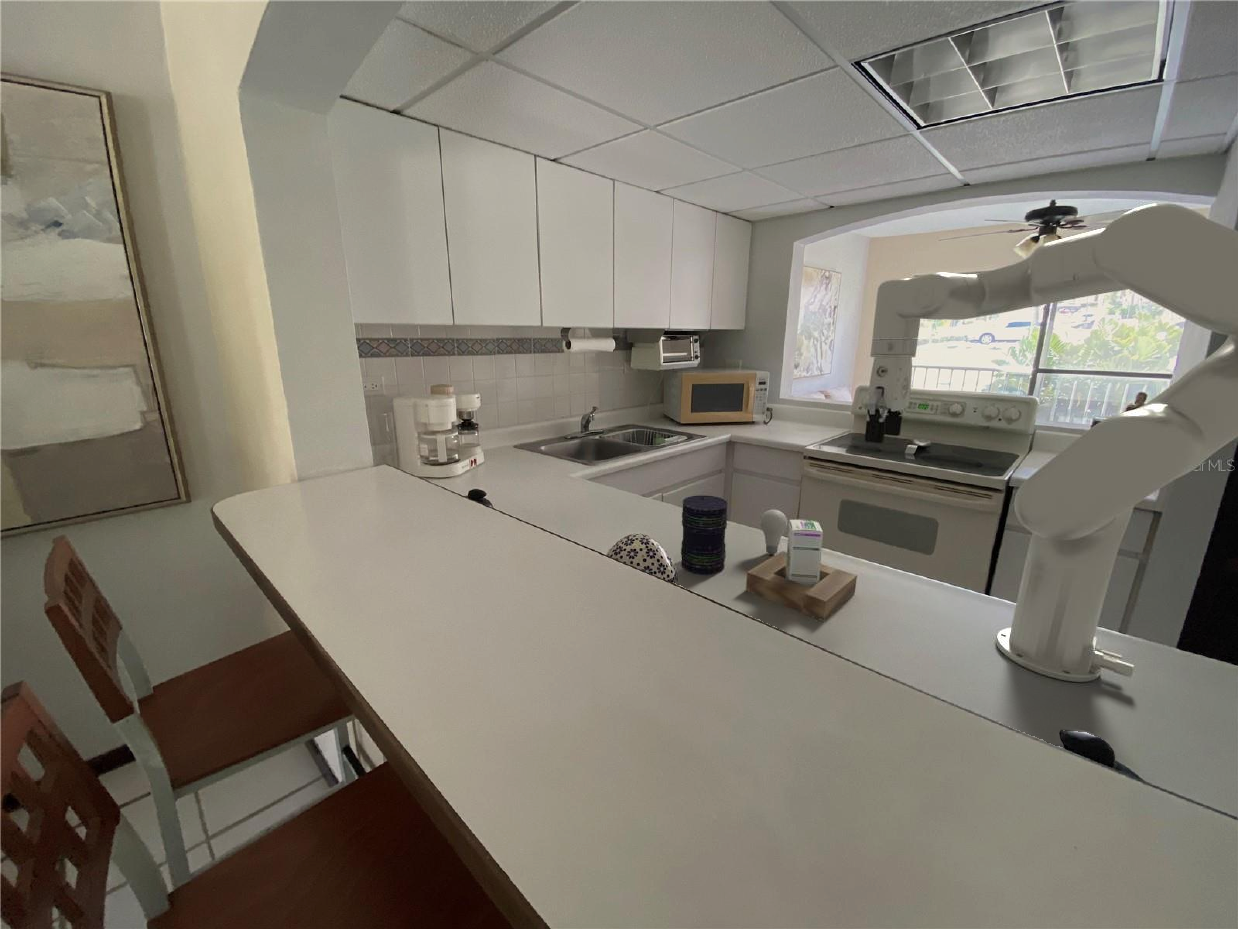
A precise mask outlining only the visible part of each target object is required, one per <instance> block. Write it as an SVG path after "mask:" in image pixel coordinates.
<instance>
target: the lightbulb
mask: <svg viewBox="0 0 1238 929" xmlns="http://www.w3.org/2000/svg"><path fill="white" fill-rule="evenodd" d="M759 524H760V525H759V526H760V528H761V530H762V533H763V534H764V535H763V536H764V539H765V540H764V542H765V545H766V546H765V552H766V553H767V554H768V555H771V556H774V555H776V554H778V548H779V545H780V543H781V542H780V541H781V538H782V536H783V534H784V533H785V531H786V530H787V528H788V527H789V521H788V519H787V517H786V515H785V514H784V513H783V512H782V511H781V510H778V509H769V510H766V511H765V512H763V513H762V515H761V517H760V519H759Z"/></svg>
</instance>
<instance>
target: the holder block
mask: <svg viewBox="0 0 1238 929" xmlns="http://www.w3.org/2000/svg"><path fill="white" fill-rule="evenodd" d="M786 561H787V551H786V552H785V551H780V552H777V553H776V554H774V555H772V556H771V557H770V558H768V559H767V560H765V561H763V562H762V563H759V564H758V565H757V566H755V567H753V568H752V569H750V570H748V571H747V572H746V582H745V583H746V584H745V585H746V586H745V590H746V591H747V592H749V593H752V594H755V595H757V596H760V597H762V598H764V599H767V600H769V601H771V602H775V603H777V604H779V605H782V606H784V607H787V608H789V609H791V610H795V611H797V612H800V613H802V614H804V613H805V615H807V614H808V615H807V616H809V615H810V617H812V616H814V617H815V619H817V618H818V619H817V620H819V619H821V620H820V621H822V620H825V619H826V620H827V619H829V617H831V616H832V615H833V614H834V613H835V612H836V611H837V610H838V609H840V608H841V607H842V606H843V605H844V604H845V603H846V602H848V601H849V600H850V599H851V598H852V597H853V596H854V595H855V594H856V588H857V587H856V585H857V578H858V575H857V574H854V573H851V572H848V571H845V570H841V569H839V568H835V567H832V566H829V565H825V564H823V563H821V565H820V577H819V583H817V584H816V585H815V586H813V587H812V588H811V587H809V586H806V585H803V584H800V583H797V582H795V581H792V580H789V579H786V578H785V576H786ZM854 593H855V594H854ZM853 594H854V595H853ZM852 595H853V596H852ZM851 596H852V597H851ZM850 597H851V598H850ZM844 602H845V603H844ZM843 603H844V604H843ZM841 605H842V606H841ZM832 613H833V614H832ZM831 614H832V615H831ZM814 617H813V618H814ZM826 620H825V621H826Z"/></svg>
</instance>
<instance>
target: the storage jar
mask: <svg viewBox="0 0 1238 929" xmlns="http://www.w3.org/2000/svg"><path fill="white" fill-rule="evenodd" d="M728 503H729V502H727V500H726V499H724V498H721V497H718V496H712V495H690V496H688V497H685V498H684V499H682V512H681V518H682V519H681V526H682V540H681V548H680V554H681V556H680V558H681V561H680V563H681V564H680V565H681V568H682V569H683V570H685V572H688V573H691V574H693V575H698V576H713V575H718V574H721V573H722V572H723V571H724V569H725V559H726V555H727V554H726V552H727V550H726V546H727V545H726V542H725V541H726V529H727V526H728V523H727V521H728Z"/></svg>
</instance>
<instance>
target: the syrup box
mask: <svg viewBox="0 0 1238 929" xmlns="http://www.w3.org/2000/svg"><path fill="white" fill-rule="evenodd" d="M787 534H788V535H787V549H786V550H787V551H786V553H787V561H786V576H785V578H786V579H789V580H792V581H795V582H797V583H800V584H803V585H806V586H809V587H811V588H812V587H813V586H815V585H816V584H817V583H819V577H820V565H821V564H822V563H821V562H822V550H823V536H824V531H823V528H822V527H821V525H820V523H819V521H817V520H812V519H811V520H810V519H789V521H788V533H787Z"/></svg>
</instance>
